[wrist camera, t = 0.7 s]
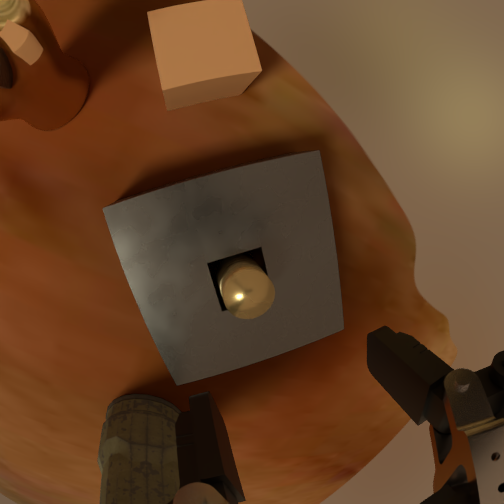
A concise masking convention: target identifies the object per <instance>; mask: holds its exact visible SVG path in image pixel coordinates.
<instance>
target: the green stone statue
mask: <svg viewBox="0 0 504 504" xmlns="http://www.w3.org/2000/svg"><path fill="white" fill-rule="evenodd" d="M180 413H182V412H181V411H180V410H179V409H178V408H177V407H176V406H174V405H173V404H172V403H170V402H168V401H166V400H164V399H162V398H159V397H155V396H151V395H144V394H131V395H124V396H121V397H119V398H117V399H115V400H113V401H112V403H111V404H110V405H109V406H108V409H107V413H106V421H105V422H104V424H103V428H102V433H101V440H100V446H99V453H98V464H99V467H100V471H101V474H102V479H101V491H100V504H167V503H169V502H170V501H171V500H172V499H173V498H174V496H175V494H176V493H177V491H178V490H179V486H180V480H179V470H178V460H177V446H176V434H175V423H176V421H177V418H178V416H179V414H180Z"/></svg>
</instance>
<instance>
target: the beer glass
mask: <svg viewBox="0 0 504 504" xmlns="http://www.w3.org/2000/svg"><path fill="white" fill-rule="evenodd" d="M88 91H89V75H88V72H87V69H86V67H85V66H84V65H83V64H82V63H81V62H80V61H79V60H77V59H75V58H73V57H71V56H68V55H66V54H64V53H63V51H62V50H61V48H60V46H59V43H58V41H57V39H56V36H55V34H54V32H53V29H52V27H51V25H50V23H49V21H48V19H47V17H46V15H45V14H44V12H43V10H42V9H41V7H40V6H39V5H38V3H37V2H36V1H35V0H0V121H7V120H15V119H21V120H24V121H25V122H27V123H28V124H29V125H31V126H32V127H34V128H36V129H39V130H44V131H48V130H54V129H57V128H59V127H61V126H63V125H65V124H66V123H68V122H69V121H70V120H71V119H73V118H74V117H75V116H76V114H77V113H78V112H79V111H80V109H81V108H82V106H83V104H84V102H85V100H86V98H87V95H88Z"/></svg>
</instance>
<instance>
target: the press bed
mask: <svg viewBox="0 0 504 504" xmlns="http://www.w3.org/2000/svg"><path fill="white" fill-rule="evenodd" d="M103 212H104V215H105V218H106V221H107V224H108V227H109V230H110V233H111V236H112V239H113V242H114V245H115V248H116V251H117V254H118V256H119V259H120V262H121V264H122V267H123V270H124V272H125V275H126V278H127V280H128V283H129V285H130V288H131V290H132V293H133V295H134V297H135V300H136V302H137V304H138V307H139V309H140V311H141V314H142V316H143V318H144V320H145V323H146V325H147V327H148V329H149V331H150V334H151V336H152V338H153V340H154V342H155V344H156V346H157V348H158V350H159V352H160V354H161V356H162V358H163V360H164V362H165V364H166V366H167V368H168V370H169V372H170V374H171V376H172V378H173V379H174V381H175V383H176V385H181V384H185V383H189V382H193V381H197V380H200V379H204V378H207V377H211V376H214V375H218V374H221V373H225V372H228V371H231V370H235V369H238V368H241V367H244V366H247V365H250V364H253V363H256V362H259V361H262V360H265V359H268V358H271V357H274V356H277V355H280V354H282V353H285V352H288V351H291V350H293V349H296V348H299V347H301V346H304V345H306V344H309V343H312V342H314V341H317V340H319V339H322V338H324V337H327V336H329V335H331V334H334V333H336V332H339V331H341V330H343V329H344V321H343V309H342V298H341V288H340V278H339V269H338V261H337V253H336V245H335V238H334V231H333V224H332V217H331V211H330V205H329V199H328V193H327V187H326V182H325V176H324V171H323V165H322V160H321V155H320V150H315V151H303V152H295V153H290V154H285V155H280V156H275V157H270V158H266V159H261V160H257V161H253V162H248V163H244V164H240V165H236V166H232V167H228V168H224V169H220V170H216V171H212V172H209V173H205V174H201V175H198V176H194V177H190V178H187V179H183V180H180V181H177V182H173V183H170V184H167V185H163V186H160V187H157V188H154V189H150V190H147V191H144V192H141V193H138V194H135V195H132V196H129V197H126V198H123V199H120V200H117V201H115V202H113V203H112V204H110V205H108V206H106V207H104V208H103ZM249 250H252V254H253V258H254V260H255V261H256V263H257V264H258V265H259V266H260V267H261V269H262V270H263V271H264V272H265V274H266V275H267V276H268V277H269V279H270V280H271V281H272V283H273V285H274V288H275V298H274V301H273V303H272V305H271V307H270V308H269V309H268V310H267V311H266V312H265V313H264V314H262V315H261V316H259V317H256V318H253V319H241V318H238V317H236V316H234V315H232V314H231V313H230V312H229V311H228V309H227V308H226V306H225V303H224V300H223V297H222V294H221V291H220V289H219V287H218V288H214V284H213V281H212V278H211V275H210V271H209V268H208V265H207V263H209V262H212V261H216V260H219V259H222V258H226V257H229V256H232V255H236V254H239V253H242V252H246V251H249Z"/></svg>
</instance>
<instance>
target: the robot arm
mask: <svg viewBox="0 0 504 504" xmlns="http://www.w3.org/2000/svg"><path fill="white" fill-rule="evenodd" d="M367 365H368V368H369V371H370V373H371V374H372V375H373V377H374V378H375V379H376V380H377V381H378V382H379V383H380V384H381V385H382V387H383V388H384V389H385V390H386V391H387V392H388V393H389V394H390V395H391V396H392V398H393V399H394V400H395V401H396V402H397V403H398V404H399V405H400V406H401V408H402V409H403V410H404V411H405V412H406V413H407V414H408V415H409V416H410V418H411V419H412V420H413V421H414V422H415V423H416V424H417V425H420V424H421V423H423V422H424V421H426V420H427V421H428V422H429V423H430V427H429V431H430V437H431V442H432V448H433V454H434V461H435V476H434V481H433V491H434V494H433V495H431V496H430V497H428V498H427V499H425V500H424V501H423V502H421V503H420V504H504V351H501V352H499V353H497V354H496V355H495V356H494V359H493V361H492V364H491V365H490V366H488V367H486V368H483V369H481V370H478V371H476V372H473V371H471V370H469V369H464V368H461V369H456V370H454V369H452V368H451V367H450V366H449V365H447V364H446V363H445V362H444V361H442V360H441V359H440V358H439V357H438V356H436V355H435V354H434V353H433V352H431V351H430V350H427V348H426V347H425V346H424V345H422V344H420V342H419V341H417V340H416V339H415V338H414V337H412V336H410V335H408V334H405V333H402V332H399V333H397V334H396V333H395V332H394V331H392V330H391V329H390V328H389V327H387V326H383V327H381V328H379V329H377V330H375V331H373V332H370V333H369V334H368V335H367ZM189 404H190V411H186V412H182V413H180V414H179V416H178V418H177V421H176V423H175V434H176V446H177V460H178V470H179V480H180V486H179V490H178V491H177V493H176V494H175V496H174V498H173V499H172V500H171V501H170V502H169V503H167V504H238V502H242V501H246V500H245V497H244V493H243V490H242V486H241V483H240V479H239V476H238V472H237V468H236V465H235V461H234V457H233V453H232V449H231V445H230V441H229V437H228V433H227V430H226V426H225V423H224V421H223V418H222V416H221V414H220V412H219V410H218V408H217V406H216V404H215V402H214V400H213V398H212V396H211V394H210V392H209V391H208V392H204V393H200V394H197V395H193V396H190V397H189Z"/></svg>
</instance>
